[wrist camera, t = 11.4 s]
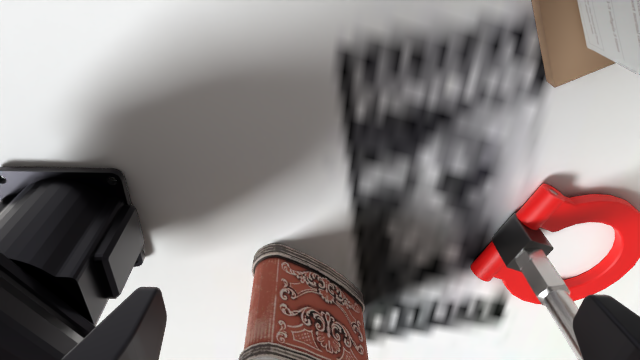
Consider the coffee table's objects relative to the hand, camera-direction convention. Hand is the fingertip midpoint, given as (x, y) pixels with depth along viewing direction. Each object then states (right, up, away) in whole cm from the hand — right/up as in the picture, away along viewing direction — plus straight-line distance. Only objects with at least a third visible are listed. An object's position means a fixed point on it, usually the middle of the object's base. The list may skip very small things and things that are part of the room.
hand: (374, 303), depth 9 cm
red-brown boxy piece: (-2, -4, +18) cm, 19 cm away
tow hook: (+13, -1, +17) cm, 22 cm away
